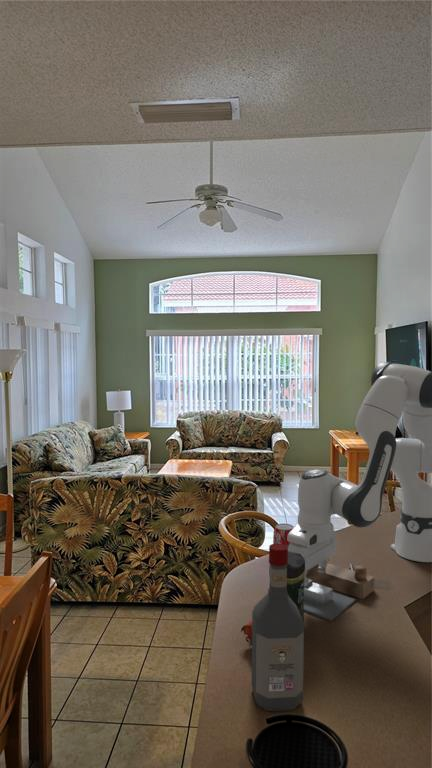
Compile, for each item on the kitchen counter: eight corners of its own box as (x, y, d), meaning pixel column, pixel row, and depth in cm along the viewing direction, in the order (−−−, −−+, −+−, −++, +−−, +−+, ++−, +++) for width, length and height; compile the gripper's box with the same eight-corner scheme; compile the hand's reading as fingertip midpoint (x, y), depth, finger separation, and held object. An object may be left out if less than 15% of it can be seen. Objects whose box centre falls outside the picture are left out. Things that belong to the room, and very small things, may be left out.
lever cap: (294, 596, 144) (294, 581, 144) (304, 589, 148) (304, 576, 147) (323, 606, 138) (324, 591, 138) (333, 599, 142) (333, 585, 142)
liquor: (305, 711, 99) (307, 555, 97) (257, 713, 98) (258, 556, 96) (294, 680, 108) (296, 538, 106) (250, 682, 107) (251, 539, 105)
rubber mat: (298, 582, 154) (298, 580, 154) (355, 601, 142) (355, 599, 142) (271, 598, 143) (271, 596, 143) (330, 621, 132) (330, 618, 132)
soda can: (294, 568, 164) (295, 530, 163) (271, 566, 165) (272, 529, 164) (295, 559, 171) (296, 523, 170) (274, 557, 172) (274, 522, 171)
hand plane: (300, 578, 156) (300, 549, 156) (312, 571, 162) (312, 542, 161) (363, 599, 143) (363, 567, 143) (373, 590, 149) (374, 559, 148)
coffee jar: (295, 644, 121) (296, 566, 120) (263, 635, 125) (264, 559, 124) (308, 625, 130) (309, 552, 128) (278, 617, 133) (279, 546, 132)
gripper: (322, 517, 152) (322, 564, 153) (283, 537, 137) (283, 588, 138) (342, 522, 148) (341, 570, 149) (304, 543, 132) (303, 595, 133)
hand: (313, 579), depth 143 cm, fingers open, 8 cm apart
